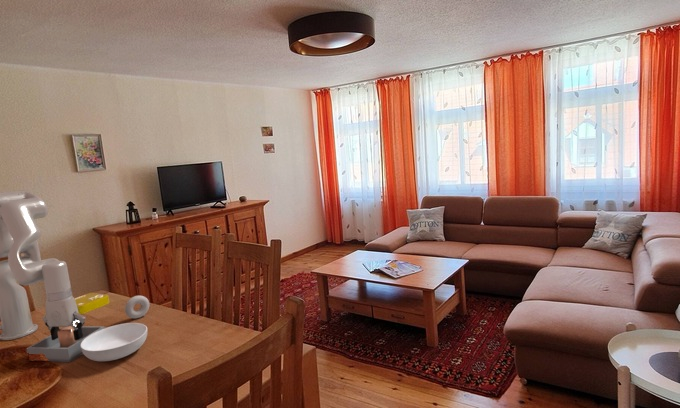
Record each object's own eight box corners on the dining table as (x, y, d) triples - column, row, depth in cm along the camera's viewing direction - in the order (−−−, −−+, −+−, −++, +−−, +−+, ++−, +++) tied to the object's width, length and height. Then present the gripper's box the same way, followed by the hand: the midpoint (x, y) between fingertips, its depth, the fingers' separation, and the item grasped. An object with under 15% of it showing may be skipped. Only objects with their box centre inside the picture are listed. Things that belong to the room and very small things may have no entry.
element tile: (92, 300, 198) (90, 291, 198) (111, 303, 192) (110, 293, 191) (61, 312, 185) (59, 302, 184) (80, 315, 179) (79, 306, 178)
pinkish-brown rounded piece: (57, 350, 143) (53, 332, 142) (68, 343, 148) (65, 326, 147) (69, 350, 142) (65, 332, 141) (80, 343, 147) (77, 326, 146)
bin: (29, 361, 139) (26, 348, 138) (69, 338, 155) (66, 326, 154) (70, 362, 136) (67, 348, 135) (106, 338, 152) (104, 326, 152)
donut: (128, 323, 166) (124, 300, 164) (125, 320, 168) (121, 298, 167) (152, 314, 173) (149, 293, 171) (149, 312, 175) (146, 291, 174)
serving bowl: (103, 376, 126) (99, 356, 125) (72, 361, 137) (68, 342, 136) (161, 345, 143) (159, 328, 142) (129, 334, 154) (127, 318, 153)
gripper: (29, 299, 140) (38, 343, 143) (71, 298, 137) (79, 343, 140) (48, 291, 148) (56, 333, 150) (88, 290, 145) (95, 333, 147)
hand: (67, 338), depth 145 cm, fingers open, 9 cm apart
